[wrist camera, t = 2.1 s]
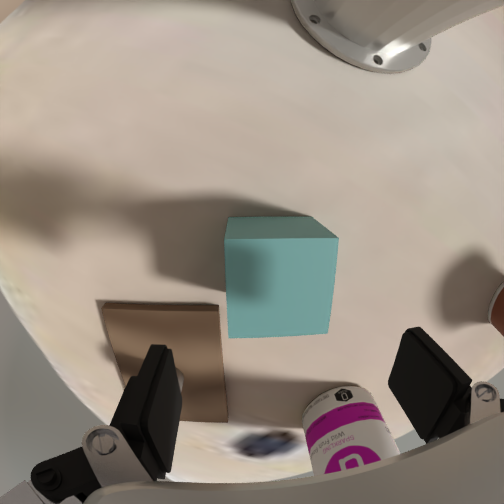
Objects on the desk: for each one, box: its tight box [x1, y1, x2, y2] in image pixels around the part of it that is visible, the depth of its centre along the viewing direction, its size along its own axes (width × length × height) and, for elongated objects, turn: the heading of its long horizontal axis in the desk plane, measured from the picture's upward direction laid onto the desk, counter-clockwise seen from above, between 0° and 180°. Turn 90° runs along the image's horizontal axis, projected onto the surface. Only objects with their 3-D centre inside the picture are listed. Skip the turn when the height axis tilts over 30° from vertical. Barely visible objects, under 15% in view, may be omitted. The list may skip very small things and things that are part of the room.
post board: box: [101, 303, 228, 422], centre depth 21 cm, size 14×10×6 cm
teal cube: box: [224, 217, 339, 338], centre depth 18 cm, size 6×6×6 cm
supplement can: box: [302, 386, 400, 476], centre depth 20 cm, size 8×8×15 cm
